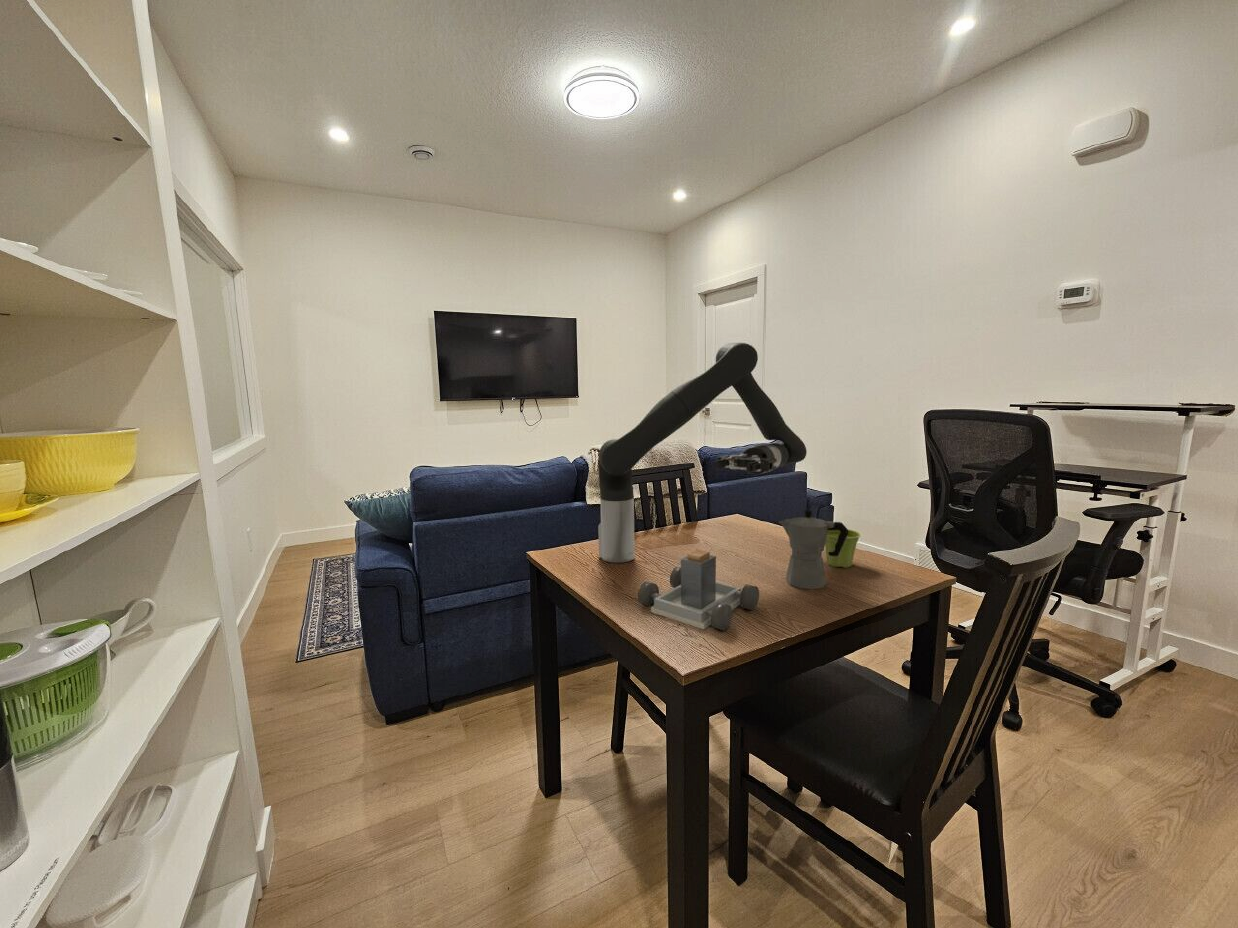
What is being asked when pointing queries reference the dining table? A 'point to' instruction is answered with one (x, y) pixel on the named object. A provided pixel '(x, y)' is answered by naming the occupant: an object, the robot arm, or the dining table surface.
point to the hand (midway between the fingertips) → (732, 466)
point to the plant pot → (846, 550)
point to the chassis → (710, 615)
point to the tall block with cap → (698, 579)
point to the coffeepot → (810, 549)
